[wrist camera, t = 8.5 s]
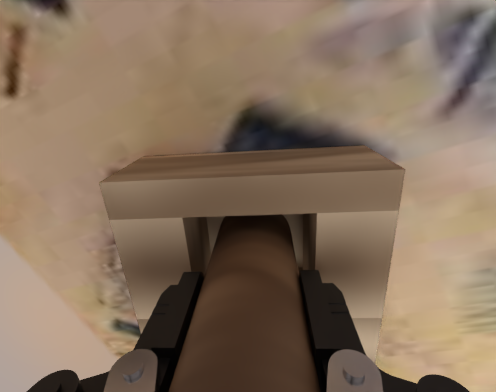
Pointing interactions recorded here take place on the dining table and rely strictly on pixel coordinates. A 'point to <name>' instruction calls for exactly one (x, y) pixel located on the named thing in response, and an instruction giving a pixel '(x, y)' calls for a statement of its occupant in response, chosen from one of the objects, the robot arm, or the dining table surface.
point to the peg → (249, 315)
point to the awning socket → (260, 203)
